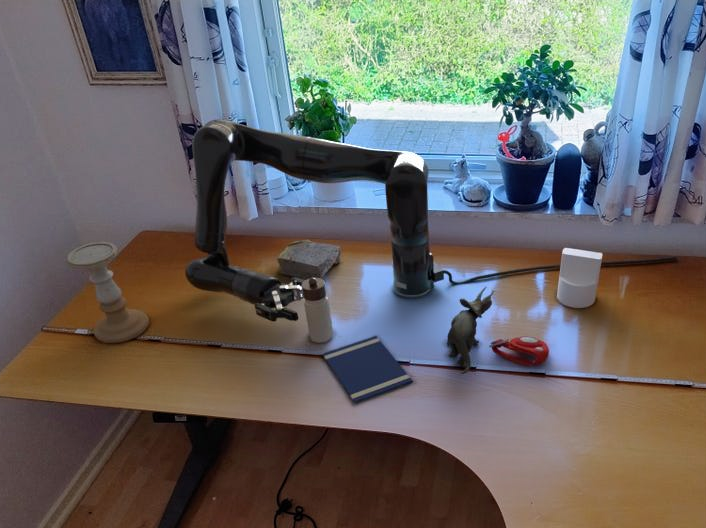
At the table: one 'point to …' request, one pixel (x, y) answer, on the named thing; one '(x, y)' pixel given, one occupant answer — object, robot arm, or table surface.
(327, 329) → the pepper mill
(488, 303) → the toy dinosaur
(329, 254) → the geological specimen
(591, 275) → the cylinder with rectangular tab
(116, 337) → the candle holder
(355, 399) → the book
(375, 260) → the table surface
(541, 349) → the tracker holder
